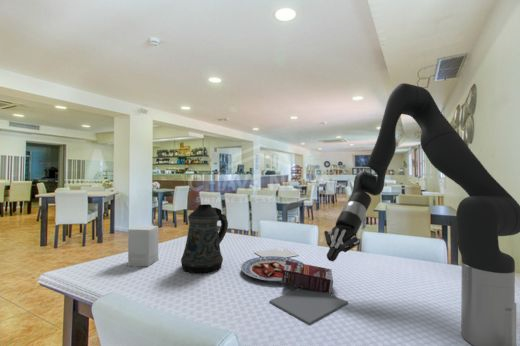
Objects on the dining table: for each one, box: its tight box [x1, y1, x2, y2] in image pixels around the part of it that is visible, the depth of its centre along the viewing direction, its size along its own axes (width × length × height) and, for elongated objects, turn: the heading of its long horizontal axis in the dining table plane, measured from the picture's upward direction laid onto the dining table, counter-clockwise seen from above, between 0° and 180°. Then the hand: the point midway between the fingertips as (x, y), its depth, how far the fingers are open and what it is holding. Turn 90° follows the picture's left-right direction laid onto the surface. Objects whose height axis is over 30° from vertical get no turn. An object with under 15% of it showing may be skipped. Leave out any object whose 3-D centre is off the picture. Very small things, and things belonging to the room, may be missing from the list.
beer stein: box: [180, 203, 229, 275], centre depth 109 cm, size 16×19×25 cm
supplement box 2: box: [127, 225, 159, 267], centre depth 112 cm, size 9×9×15 cm
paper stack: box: [253, 248, 298, 258], centre depth 132 cm, size 23×25×1 cm
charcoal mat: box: [269, 287, 349, 325], centre depth 78 cm, size 15×18×1 cm
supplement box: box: [281, 261, 334, 295], centre depth 89 cm, size 9×5×16 cm
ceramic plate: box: [240, 256, 305, 282], centre depth 103 cm, size 26×26×3 cm
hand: (330, 259), depth 84 cm, fingers closed
